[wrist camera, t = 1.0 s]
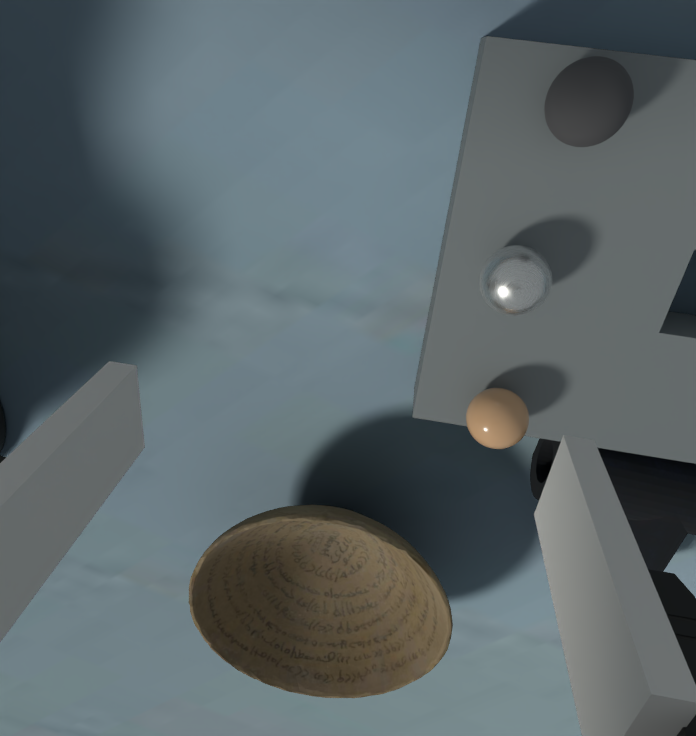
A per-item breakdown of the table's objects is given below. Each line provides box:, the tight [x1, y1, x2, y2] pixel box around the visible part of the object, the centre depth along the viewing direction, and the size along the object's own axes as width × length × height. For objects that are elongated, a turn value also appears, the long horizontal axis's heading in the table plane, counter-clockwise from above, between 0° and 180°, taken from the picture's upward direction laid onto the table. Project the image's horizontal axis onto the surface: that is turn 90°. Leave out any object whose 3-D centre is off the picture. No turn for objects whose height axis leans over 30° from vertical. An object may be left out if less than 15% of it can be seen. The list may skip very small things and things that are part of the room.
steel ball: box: [479, 245, 552, 316], centre depth 27 cm, size 3×3×3 cm
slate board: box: [412, 36, 696, 464], centre depth 30 cm, size 19×20×4 cm
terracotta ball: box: [466, 388, 529, 449], centre depth 31 cm, size 3×3×3 cm
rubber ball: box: [544, 56, 634, 147], centre depth 23 cm, size 3×3×3 cm
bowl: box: [189, 505, 453, 698], centre depth 41 cm, size 18×18×8 cm
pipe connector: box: [530, 438, 696, 572], centre depth 37 cm, size 12×5×15 cm
